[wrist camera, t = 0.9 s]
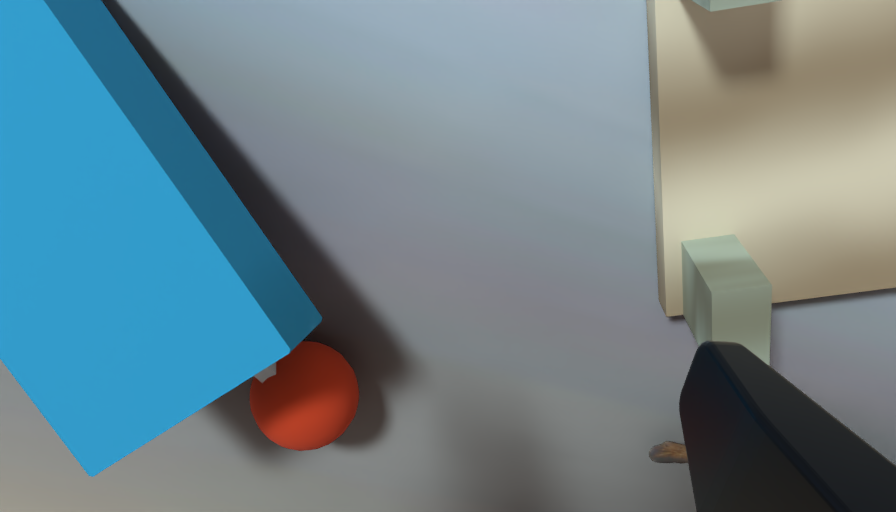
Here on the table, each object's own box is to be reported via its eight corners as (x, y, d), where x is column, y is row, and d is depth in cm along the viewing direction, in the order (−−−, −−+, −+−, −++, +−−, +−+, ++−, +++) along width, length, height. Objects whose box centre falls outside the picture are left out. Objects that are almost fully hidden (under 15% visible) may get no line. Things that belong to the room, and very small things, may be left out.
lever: (-44, 20, 25) (273, 459, 27) (-268, 4, 19) (174, 588, 21) (103, -114, 24) (432, 367, 26) (-88, -185, 17) (379, 475, 19)
